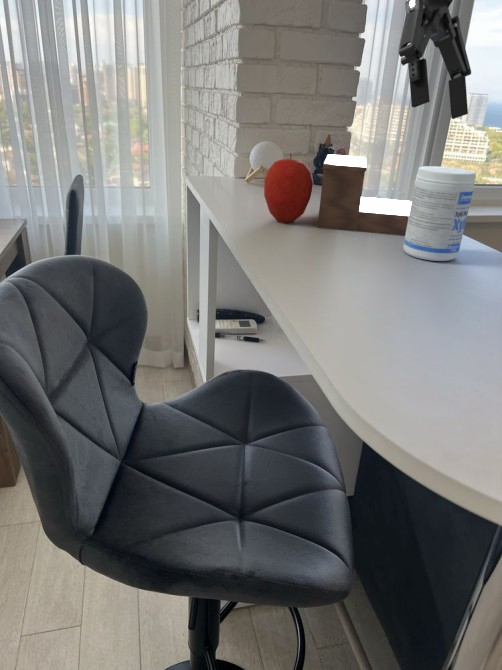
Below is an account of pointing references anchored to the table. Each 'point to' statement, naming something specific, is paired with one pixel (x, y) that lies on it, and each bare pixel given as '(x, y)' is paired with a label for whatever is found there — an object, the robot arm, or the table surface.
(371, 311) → the table surface
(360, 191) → the step shelf
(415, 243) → the supplement tub
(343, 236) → the table surface
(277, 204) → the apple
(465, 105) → the robot arm
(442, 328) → the table surface
